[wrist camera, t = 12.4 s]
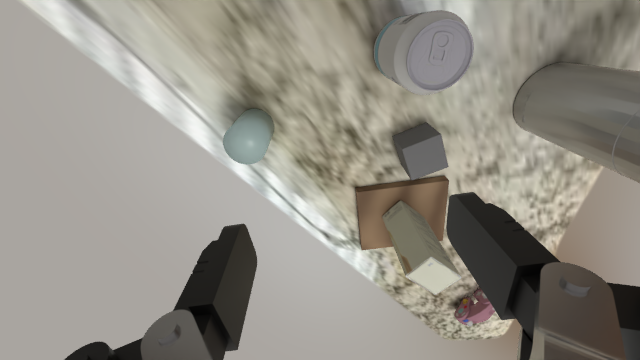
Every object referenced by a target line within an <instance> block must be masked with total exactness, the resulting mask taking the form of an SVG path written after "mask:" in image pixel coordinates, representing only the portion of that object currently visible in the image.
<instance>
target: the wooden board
mask: <svg viewBox="0 0 640 360" xmlns="http://www.w3.org/2000/svg"><path fill="white" fill-rule="evenodd" d="M448 185H449V180H448V179H447V178H446V177H445V176H440V177H432V178H425V179H417V180H410V181H402V182H394V183H387V184H379V185H371V186H364V187H356V199H357V210H358V221H359V233H360V244H361V249H362V250H367V249H376V248H384V247H393V243H392V241H391V238H390V236H389V233H388V230H387V228H386V226H385V223H384V221H383V218H382V216H383V215H384V214H385V213H386V212H388V211H389V210H390V209H391V208H392V207H393V206H394V205H395V204H397V203H398V202H399V201H400V200H401V201H403V202H404V203H406V204H407V205H408V206H410V207H411V208H413V209H414V210H415V211H417V212H418V213H419V214H421V215H422V216H423V217H424V218H425V219H426V221H427V222H428V224H429V226H430V227H431V229H432V231H433V232H434V234H435V235H436V237H437V239H438V240H439V241H443V232H444V223H445V213H446V204H447V194H448Z"/></svg>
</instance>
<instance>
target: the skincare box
mask: <svg viewBox="0 0 640 360" xmlns="http://www.w3.org/2000/svg"><path fill="white" fill-rule="evenodd" d="M382 218H383V221H384V223H385V226H386V228H387V230H388V233H389V236H390V238H391V241H392V243H393V246H394V248H395V251H396V253H397V256H398V258H399V261H400V263H401V266H402V268H403V271H404V273H405V276H406V277H407V278H408V279H410V280H411V281H413V282H414V283H416V284H417V285H419V286H421V287H422V288H424V289H426V290H428V291H429V292H431V293H433V294H435V295H436V294H438V293H439V292H441V291H442V290H444V289H445V288H447V287H449V286H450V285H452V284H453V283H455V282H456V281H458V280H459V279H461V276H460V274H459V273H458V271H457V269H456V268H455V266H454V265H453V263H452V261H451V260H450V258H449V256H448V255H447V253H446V252H445V250H444V248H443V247H442V245H441V243H440V242H439V240H438V239H437V237H436V235H435V234H434V232H433V231H432V229H431V227H430V226H429V224H428V222H427V221H426V219H425V218H424V217H423V216H422V215H421V214H419V213H418V212H417V211H415V210H414V209H413V208H411V207H410V206H408V205H407V204H406V203H404V202H403V201H401V200H400V201H399V202H398V203H397V204H395V205H394V206H393V207H392V208H391V209H390V210H389V211H388V212H386V213H385V214H384V215H383V216H382Z"/></svg>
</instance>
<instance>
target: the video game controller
mask: <svg viewBox="0 0 640 360" xmlns="http://www.w3.org/2000/svg"><path fill="white" fill-rule="evenodd" d="M474 297H475V298H476V299H477V300H478V301H479V302H477V303H476V304H474V302H473V301H472V300H471V299H470V298H469V297H466V298H464V299H463V300H462V301H461V304H460V306H459V307H458V309H457V310H456V311H455V317H456V319H457V320H458V321H459V322H461V323H462V324H464V325H468V326H472V324H474V323H479V322H483V321H486V320H488V319H489V318H490V317H491V315H492V314H493V313H494V312H495V309H494V308H493V306H492V305H491V303H490V302H489V300H488V299H487V297H486V296H485V294H484V293H483V291H482V290H481V289H479V290H477V291H476V292H475V293H474Z"/></svg>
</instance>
